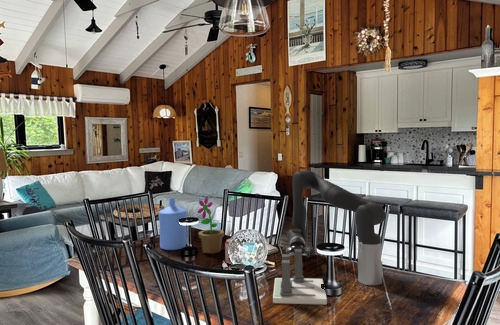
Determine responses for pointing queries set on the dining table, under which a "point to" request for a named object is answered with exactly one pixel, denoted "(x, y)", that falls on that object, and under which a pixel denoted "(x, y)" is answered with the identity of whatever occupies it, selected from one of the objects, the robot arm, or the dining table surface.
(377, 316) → the dining table surface
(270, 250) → the washcloth
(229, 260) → the soda can
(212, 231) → the flowerpot
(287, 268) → the near lever
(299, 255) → the lever
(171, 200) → the water jug
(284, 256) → the middle lever
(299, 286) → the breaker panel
